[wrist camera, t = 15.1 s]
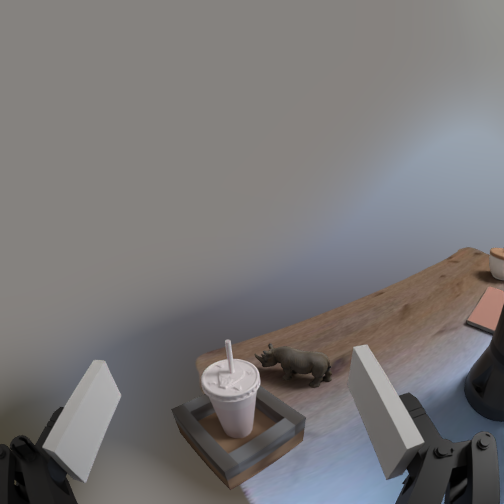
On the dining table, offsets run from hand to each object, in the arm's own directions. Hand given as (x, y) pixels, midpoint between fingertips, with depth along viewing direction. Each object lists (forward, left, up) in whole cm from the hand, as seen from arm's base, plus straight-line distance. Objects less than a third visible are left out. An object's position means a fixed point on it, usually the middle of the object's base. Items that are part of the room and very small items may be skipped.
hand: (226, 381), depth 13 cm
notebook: (-71, +18, -24) cm, 77 cm away
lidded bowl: (-102, +16, -23) cm, 106 cm away
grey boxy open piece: (-6, -10, -23) cm, 26 cm away
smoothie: (-6, -10, -20) cm, 24 cm away
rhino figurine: (-22, -16, -24) cm, 36 cm away
